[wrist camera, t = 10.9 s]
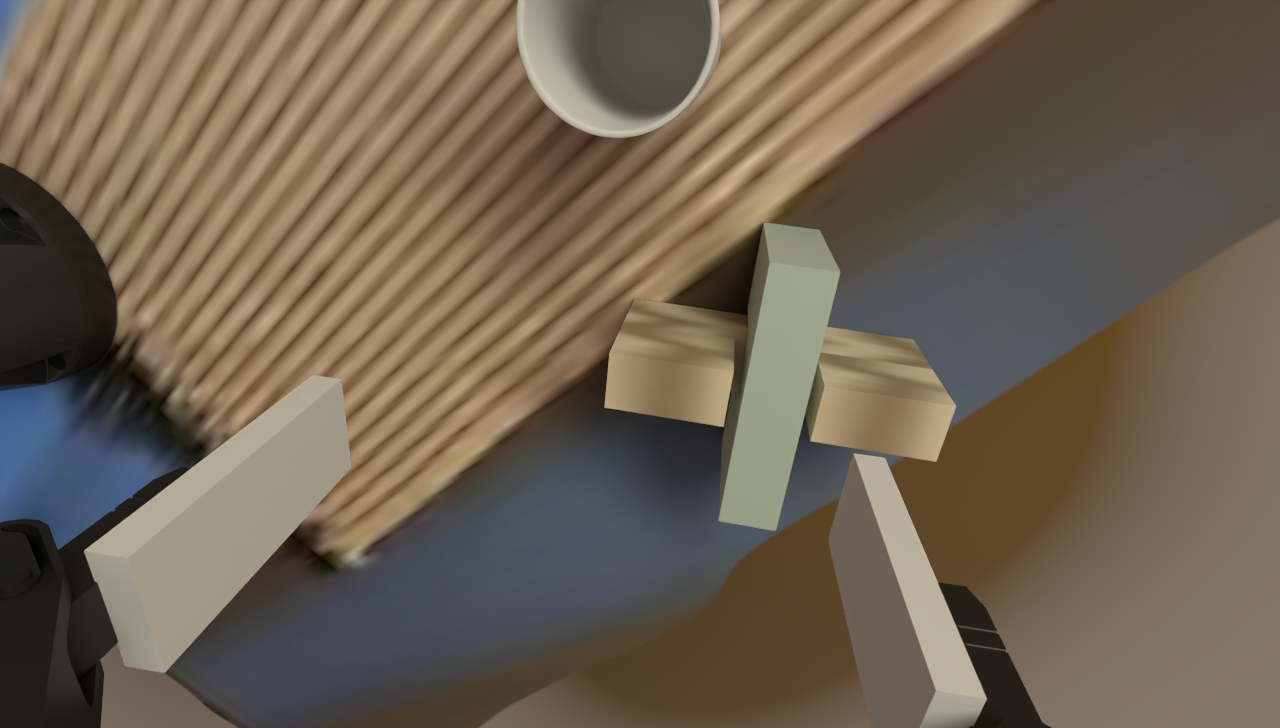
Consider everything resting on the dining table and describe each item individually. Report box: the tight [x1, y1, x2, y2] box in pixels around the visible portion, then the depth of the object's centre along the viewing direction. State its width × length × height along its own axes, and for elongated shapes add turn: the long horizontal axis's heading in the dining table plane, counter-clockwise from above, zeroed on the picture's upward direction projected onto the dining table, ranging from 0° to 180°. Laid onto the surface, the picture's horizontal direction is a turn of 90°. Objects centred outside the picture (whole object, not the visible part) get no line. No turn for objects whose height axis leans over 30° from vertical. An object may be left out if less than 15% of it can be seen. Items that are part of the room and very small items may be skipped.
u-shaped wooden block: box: [604, 298, 956, 461], centre depth 34 cm, size 16×3×8 cm, turn 84°
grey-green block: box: [718, 222, 840, 531], centre depth 34 cm, size 3×14×8 cm, turn 174°
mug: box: [516, 0, 722, 138], centre depth 26 cm, size 10×7×12 cm, turn 127°
